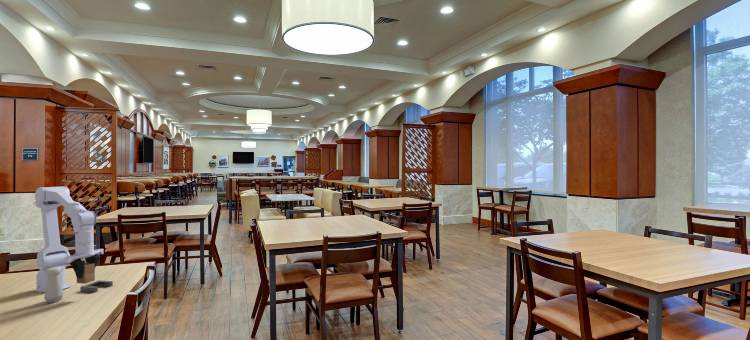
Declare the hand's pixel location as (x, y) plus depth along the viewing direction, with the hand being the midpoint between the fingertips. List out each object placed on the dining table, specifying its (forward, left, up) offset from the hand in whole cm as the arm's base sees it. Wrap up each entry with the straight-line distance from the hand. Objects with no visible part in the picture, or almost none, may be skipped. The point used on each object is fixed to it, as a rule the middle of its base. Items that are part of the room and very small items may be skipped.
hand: (85, 276), depth 145 cm
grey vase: (-9, -5, -9) cm, 14 cm away
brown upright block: (0, 0, -2) cm, 2 cm away
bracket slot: (-5, +10, -9) cm, 14 cm away
